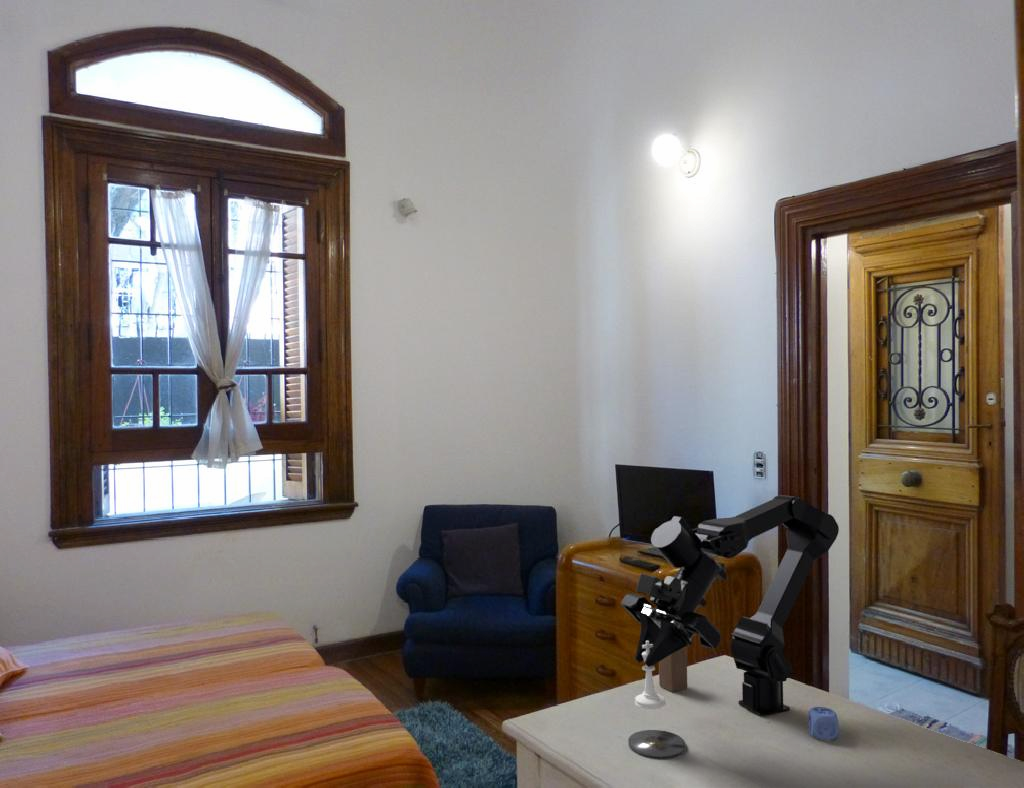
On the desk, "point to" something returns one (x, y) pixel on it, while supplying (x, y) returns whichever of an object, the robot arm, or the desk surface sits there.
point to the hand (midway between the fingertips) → (642, 663)
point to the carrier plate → (656, 744)
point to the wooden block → (674, 671)
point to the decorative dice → (823, 723)
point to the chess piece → (649, 687)
